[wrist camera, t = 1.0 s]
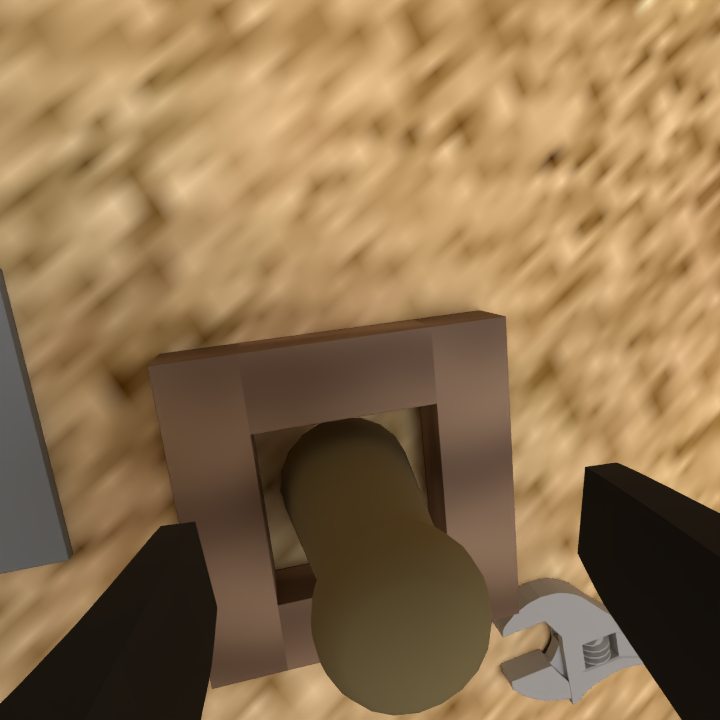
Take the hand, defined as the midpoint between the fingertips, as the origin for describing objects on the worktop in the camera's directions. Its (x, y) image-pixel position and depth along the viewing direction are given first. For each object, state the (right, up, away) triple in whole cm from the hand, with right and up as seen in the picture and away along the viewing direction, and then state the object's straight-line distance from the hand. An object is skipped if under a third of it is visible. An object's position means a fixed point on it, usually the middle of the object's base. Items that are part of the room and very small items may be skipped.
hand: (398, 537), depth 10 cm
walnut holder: (-1, -2, +14) cm, 15 cm away
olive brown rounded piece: (-1, -2, +15) cm, 15 cm away
